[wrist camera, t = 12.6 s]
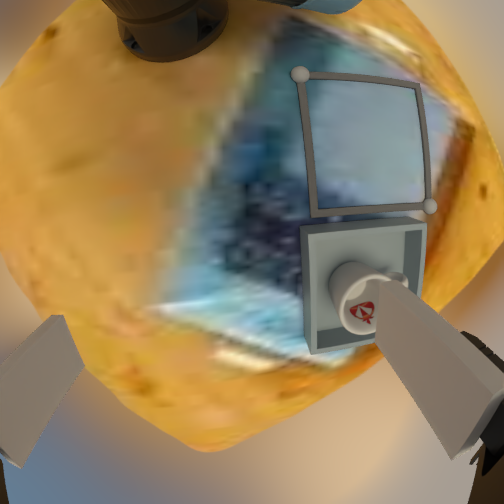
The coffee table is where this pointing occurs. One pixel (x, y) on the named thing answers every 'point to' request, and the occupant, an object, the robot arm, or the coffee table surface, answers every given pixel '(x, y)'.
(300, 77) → the square tray frame
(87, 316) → the coffee table surface
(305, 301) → the bin
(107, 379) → the coffee table surface
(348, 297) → the cup
